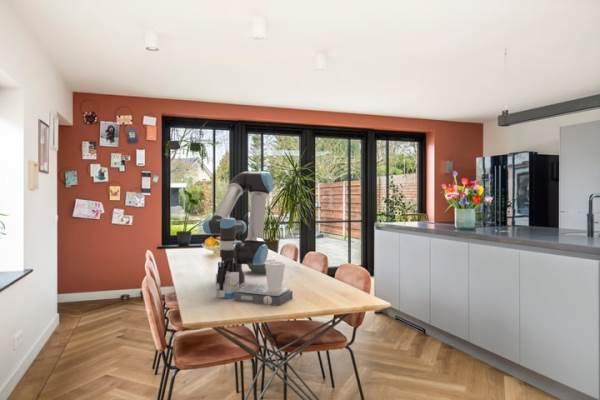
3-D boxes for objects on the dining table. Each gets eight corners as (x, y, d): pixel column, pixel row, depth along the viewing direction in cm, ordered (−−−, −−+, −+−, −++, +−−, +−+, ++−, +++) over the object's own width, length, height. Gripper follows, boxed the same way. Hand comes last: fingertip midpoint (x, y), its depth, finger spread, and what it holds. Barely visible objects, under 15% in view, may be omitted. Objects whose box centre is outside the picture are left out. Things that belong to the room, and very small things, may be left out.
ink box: (239, 295, 209) (239, 272, 209) (229, 299, 201) (229, 275, 201) (225, 293, 212) (225, 270, 212) (215, 297, 205) (215, 273, 204)
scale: (233, 301, 199) (233, 292, 198) (249, 294, 213) (249, 285, 213) (279, 306, 190) (279, 297, 190) (292, 298, 204) (292, 290, 204)
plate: (236, 291, 199) (236, 289, 199) (250, 286, 211) (250, 284, 211) (278, 296, 191) (278, 294, 191) (289, 290, 203) (289, 288, 203)
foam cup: (285, 292, 195) (285, 264, 195) (265, 292, 194) (266, 264, 193) (283, 287, 204) (283, 261, 204) (264, 288, 203) (264, 261, 203)
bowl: (281, 271, 272) (281, 256, 272) (263, 276, 256) (263, 261, 256) (257, 268, 283) (257, 254, 283) (238, 273, 266) (238, 258, 266)
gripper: (222, 252, 195) (222, 300, 195) (245, 246, 215) (244, 290, 215) (208, 251, 198) (208, 298, 198) (232, 246, 218) (232, 289, 218)
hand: (227, 294), depth 207 cm, fingers closed on ink box, 9 cm apart
